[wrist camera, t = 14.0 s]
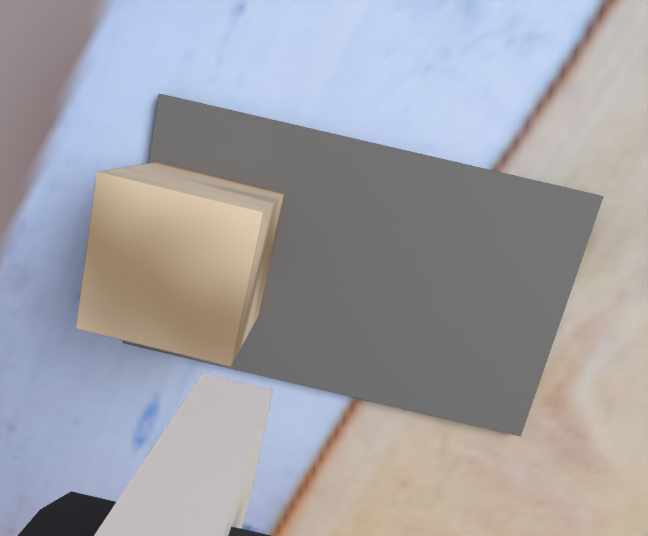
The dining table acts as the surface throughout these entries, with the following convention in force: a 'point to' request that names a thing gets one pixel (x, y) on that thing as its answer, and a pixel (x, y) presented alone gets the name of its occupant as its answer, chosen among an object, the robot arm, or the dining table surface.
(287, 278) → the mat
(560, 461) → the dining table surface
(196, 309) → the cube
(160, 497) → the robot arm
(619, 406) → the dining table surface
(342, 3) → the dining table surface
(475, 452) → the dining table surface
